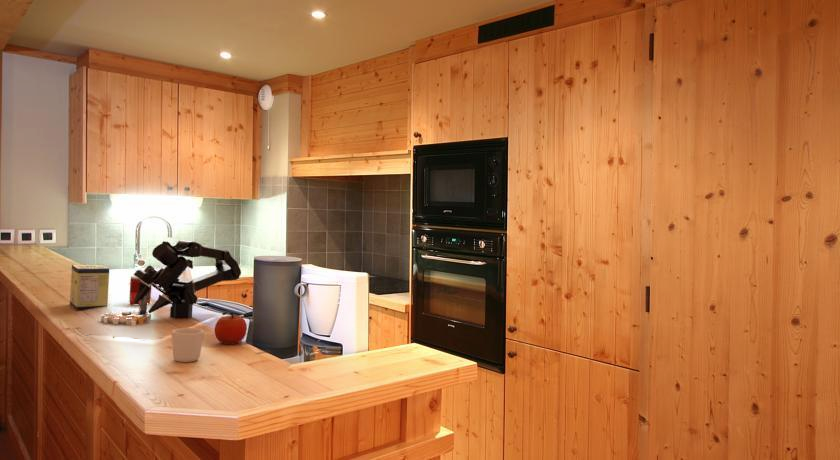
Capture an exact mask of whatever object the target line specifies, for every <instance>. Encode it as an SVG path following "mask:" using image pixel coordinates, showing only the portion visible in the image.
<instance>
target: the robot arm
mask: <svg viewBox="0 0 840 460" xmlns="http://www.w3.org/2000/svg"><path fill="white" fill-rule="evenodd" d="M151 255H152V257H153V258H154V259H156V260H157V261H159V262H160V263H161V264H163V266H165V267H161V268H159V270H158V271H157V270H156V269H155V267H153V266H152V265H147V266H146V268H145V269H144V270H143V269H142V268H141V269H138V270H136V271H135V273H133V276H136V277H138V278H139V279H141V280H137V281H139V289H138V292H137V294H136V297H135V300H134V303H135V304H136V303H137V302H139V301H140V300H141V299H142V298H143V297H144V296H145V295H146V294H147V293H148V292H149V291H150V290H151V291H152V289H153V288H155V289H156V290H157V291H158V292H160V293H162V295H161V294H159V295H158V298H157V300H155V302H154V303H153V305H151V307H150V308H149V309H148V310H147V312H148V314H149V313H150V314H152V313H153V312H155V311H157V310H159V309H161V308H163V307H165V306H166V307H167V306H168V305H171V306H170V309H169V311H170V312H169V317H170V318H173V319H183V320H184V319H187V320H188V319H191V318H192V317H193V305H194V304H195V305H196V304H197V302H198V296H197V295H196V292H198V291H201V290H203V289H206V288H208V287H211V286H213V285H216V284H218V283H220V282H227V281H229V282H230V281H237V280H239V278H240V277H241V275H242V271H241V267H240V265H239V263H238V261H237V260H235V259H234V257H232V255H231V252H230V251H228V250H224V249H217V248H213V247H209V246H204V245H203V244H201V243H199V242H197V241H193V240H181V239H180V240H178V241H177V242H176V244H174V245H172V244H171V242H169V241H167V240H163V241H162V242H161V243H160V244H158V245H157V246H155V248H153V249H152V254H151ZM186 257H187V258H199V257H203V258H209V259H215V270H214V271H212V272H209V273H207V274H204V275H201V276H198V277H196V278H192V279H191V278H184V277H180V276H181V275H182V274H183V273H184V272H185V271H186V269H187V268H190V269H191V270H193V269H194V266H193V263H194V261H192V260H191V259H187V258H186ZM224 262H225V263H224ZM179 277H180V278H179ZM150 286H151V288H150ZM152 287H153V288H152Z"/></svg>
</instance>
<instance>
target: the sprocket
mask: <svg viewBox="0 0 840 460" xmlns="http://www.w3.org/2000/svg"><path fill="white" fill-rule="evenodd" d="M147 296H148V293H147V294H146V295H145V296H144V297H143V298H142V299H141V300H140V301H139V305H138V310H134V311H132V310H129V311H128V310H121V311H116V310H115V311H110V312H104V313H102V314H101V315H100V322H103V324H107V325H108V324H112V325H117V326H118V325H126V326H127V325H128V326H129V325H130V326H132V325H131V321H136V325H137V324H138V325H139V324H140V325H142V324H143V323H149V322H150V321H152V313H149V312H148V305H147Z"/></svg>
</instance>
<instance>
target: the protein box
mask: <svg viewBox="0 0 840 460" xmlns="http://www.w3.org/2000/svg"><path fill="white" fill-rule="evenodd" d="M70 273H71V274H70V275H71V277H70V291H69V292H70V295H69V305H70V306H71V307H72V308H73V309H74V310H75V311H88V310H92V309H95V308H106V307H108V303H109V285H110V283H109V282H110V281H109V280H110V268H109V267H106V266H104V265H102V264H71V272H70Z"/></svg>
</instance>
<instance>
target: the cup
mask: <svg viewBox="0 0 840 460" xmlns="http://www.w3.org/2000/svg"><path fill="white" fill-rule="evenodd" d="M204 332H205V331H204V329H202V328H196V327H180V328H176V329H173V330H172V331H171V342H172V344H171V345H172V357H173V359H174V361H176V362H179V363H191V362H195V361H197V360H199V359H200V356H201V351H202V346H203V339H204V334H205V333H204Z"/></svg>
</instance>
